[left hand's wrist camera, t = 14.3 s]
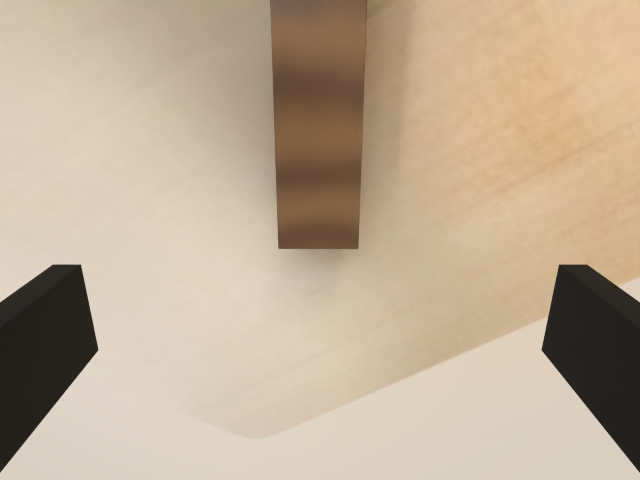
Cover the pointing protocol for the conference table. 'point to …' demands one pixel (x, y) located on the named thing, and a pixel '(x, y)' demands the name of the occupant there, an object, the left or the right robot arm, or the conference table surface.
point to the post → (318, 120)
